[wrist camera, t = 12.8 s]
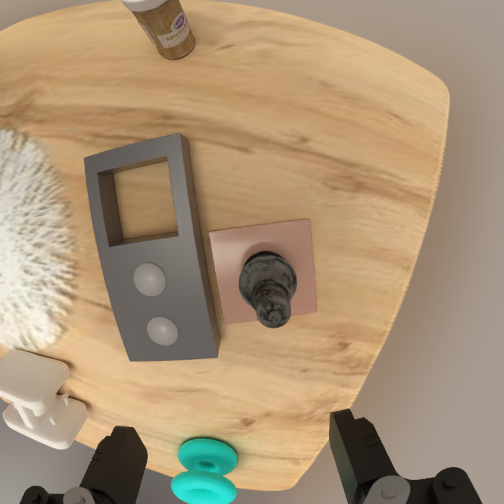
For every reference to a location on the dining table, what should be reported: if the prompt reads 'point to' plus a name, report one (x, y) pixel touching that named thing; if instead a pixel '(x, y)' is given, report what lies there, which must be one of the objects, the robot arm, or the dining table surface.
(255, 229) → the tile pad
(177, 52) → the sprinkles bottle
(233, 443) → the dining table surface
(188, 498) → the donuts
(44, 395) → the cable organizer
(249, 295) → the dark chess piece
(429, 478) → the robot arm
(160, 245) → the socket strip
